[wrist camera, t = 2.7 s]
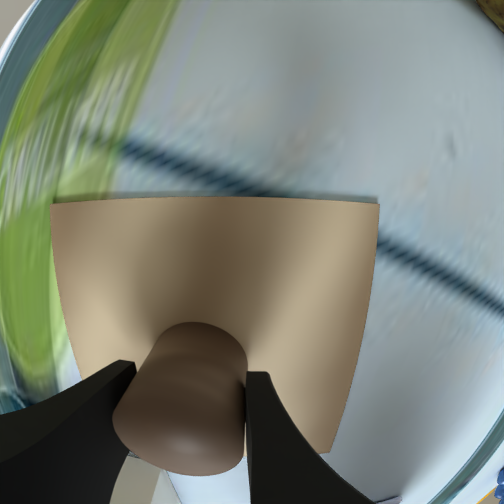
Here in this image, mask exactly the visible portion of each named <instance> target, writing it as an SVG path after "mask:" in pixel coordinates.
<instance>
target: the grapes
mask: <svg viewBox="0 0 504 504" xmlns="http://www.w3.org/2000/svg"><path fill="white" fill-rule="evenodd" d="M497 483H498V484H499V485H498V486H497V488H496V490H495V495H494V496H495V497H496V498H498V499H501V498H502V499H501V500H500V502H499V504H504V469H502V470H501V471H500V473H499V475H498V479H497Z"/></svg>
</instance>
